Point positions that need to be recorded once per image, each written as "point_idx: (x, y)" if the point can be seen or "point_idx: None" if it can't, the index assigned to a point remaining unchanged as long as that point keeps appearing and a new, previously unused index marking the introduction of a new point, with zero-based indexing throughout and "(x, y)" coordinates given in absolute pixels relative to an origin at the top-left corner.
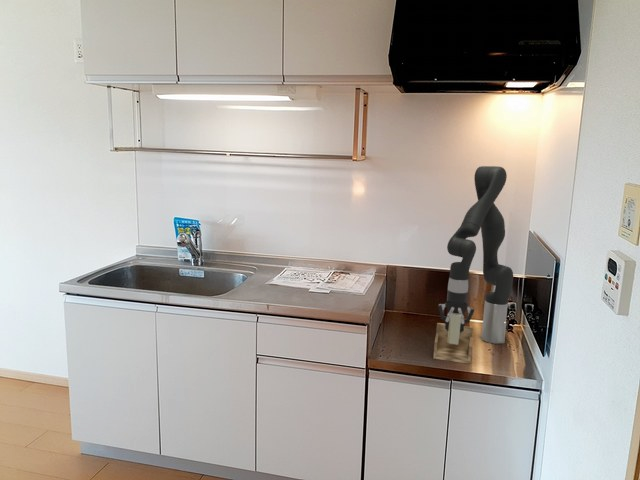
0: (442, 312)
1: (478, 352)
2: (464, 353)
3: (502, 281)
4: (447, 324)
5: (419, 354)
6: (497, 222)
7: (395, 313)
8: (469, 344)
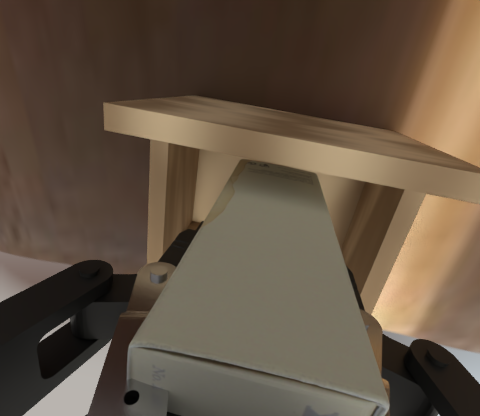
0: (19, 411)
1: (452, 112)
2: (343, 180)
3: None
4: None
5: (124, 189)
6: None
7: None
8: (360, 294)
